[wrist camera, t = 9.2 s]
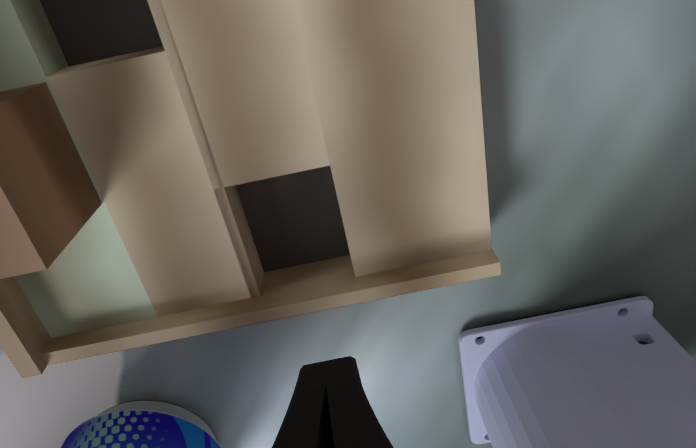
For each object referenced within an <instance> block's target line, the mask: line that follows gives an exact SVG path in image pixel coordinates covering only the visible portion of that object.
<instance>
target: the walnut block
mask: <svg viewBox="0 0 696 448" xmlns="http://www.w3.org/2000/svg"><path fill="white" fill-rule="evenodd" d="M101 204H102V202H101V200H100V198H99V196H98V193H97V191H96V189H95V187H94V185H93V183H92V180H91V178H90V176H89V174H88V172H87V170H86V168H85V165H84V163H83V161H82V159H81V157H80V155H79V153H78V150H77V148H76V146H75V144H74V142H73V140H72V137H71V135H70V133H69V131H68V129H67V127H66V125H65V122H64V120H63V118H62V116H61V114H60V112H59V109H58V107H57V105H56V103H55V101H54V99H53V97H52V94H51V92H50V90H49V88H48V86H47V84H46V82H43V83H39V84H34V85H29V86H25V87H20V88H15V89H10V90H6V91H1V92H0V279H3V278H8V277H13V276H18V275H23V274H28V273H33V272H38V271H42V270H47V269H48V268H49V266H50V265H51V264H52V263H53V262H54V261H55V259H56V258H57V257H58V256H59V255H60V253H61V252H62V251H63V250H64V249H65V247H66V246H67V245H68V244H69V243H70V241H71V240H72V239H73V238H74V237H75V235H76V234H77V233H78V232H79V231H80V230H81V228H82V227H83V226H84V225H85V224H86V222H87V221H88V220H89V219H90V218H91V216H92V215H93V214H94V213H95V212H96V210H97V209H98V208H99V207H100V206H101Z"/></svg>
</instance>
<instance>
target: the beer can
mask: <svg viewBox="0 0 696 448" xmlns="http://www.w3.org/2000/svg"><path fill="white" fill-rule="evenodd" d="M61 448H222V447H221V446H220V444H219V443H218V442H217V440H216V438H215V436H214V434H213V432H212V431H211V429H210V428H209V426H208V425H207V424H206V423H205V422H204V421H203V420H202V419H200V418H199V417H198V416H196V415H195V414H193V413H192V412H190V411H188V410H186V409H184V408H181V407H179V406H176V405H172V404H169V403H164V402H158V401H133V402H127V403H123V404H119V405H116V406H114V407H111V408H109V409H107V410H105V411H103V412H102V413H101V414H99V415H98V416H96V417H93V418H91V419H89V420H87V421H85V422H84V423H82V424H81V425H79V426H78V427H77V428H75V429H74V430H73V431H72V432H71V433H70V434H69V435H68V437H67V438H66V439H65V441H64V443H63V445H62V446H61Z"/></svg>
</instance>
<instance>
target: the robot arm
mask: <svg viewBox="0 0 696 448" xmlns="http://www.w3.org/2000/svg"><path fill="white" fill-rule="evenodd" d="M622 308H623V309H622ZM620 309H622V310H621V311H619V310H620ZM618 311H619V312H618ZM652 314H653V302H652V301H651V300H650V299H649V298H648V297H646V296H638V297H632V298H627V299H622V300H617V301H612V302H607V303H602V304H597V305H592V306H587V307H582V308H577V309H571V310H566V311H561V312H556V313H551V314H546V315H541V316H536V317H531V318H526V319H521V320H516V321H510V322H505V323H500V324H495V325H490V326H485V327H480V328H475V329H470V330H466V331H463V332H462V333H461V334H460V335H459V337H458V344H459V352H460V360H461V369H462V377H463V385H464V394H465V402H466V410H467V419H468V427H469V435H470V438H471V441H472V442H473V443H475V444H484V443H489V442H491V445H492V448H696V361H695V360H694V359H693V358H692V357H691V356H690V355H689V354H688V353H687V352H686V351H685V350H684V348H683V347H682V346H681V345H680V344H679V343H678V342H677V341H676V340H675V339H674V338H673V337H672V336H671V335H670V334H669V333H668V332H667V331H666V330H665V329H664V328H663V327H662V325H661V324H660V323H659V322H658V321H657V320H656V319H655V318H654V317H653V316H652ZM479 336H482V337H481V338H480V339H476V338H477V337H479ZM272 448H393V446H392V444H391V443H390V441H389V439H388V438H387V436H386V434H385V433H384V431H383V429H382V427H381V425H380V424H379V422H378V420H377V418H376V416H375V414H374V412H373V410H372V408H371V406H370V404H369V402H368V399H367V397H366V395H365V392H364V390H363V387H362V384H361V380H360V376H359V372H358V368H357V364H356V360H355V358H353V357H351V356H349V357H344V358H338V359H333V360H328V361H323V362H318V363H313V364H308V365H303V367H302V368H301V369H300V373H299V376H298V380H297V383H296V387H295V390H294V393H293V396H292V399H291V401H290V404H289V407H288V410H287V413H286V415H285V418H284V420H283V423H282V425H281V428H280V430H279V433H278V435H277V437H276V440H275V442H274V444H273V446H272Z"/></svg>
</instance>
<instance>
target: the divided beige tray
mask: <svg viewBox="0 0 696 448" xmlns="http://www.w3.org/2000/svg"><path fill="white" fill-rule="evenodd" d="M43 82H46V84H47V86H48V88H49V90H50V92H51V94H52V97H53V99H54V101H55V103H56V105H57V107H58V109H59V112H60V114H61V116H62V118H63V120H64V122H65V125H66V127H67V129H68V131H69V133H70V135H71V137H72V140H73V142H74V144H75V146H76V148H77V150H78V153H79V155H80V157H81V159H82V161H83V163H84V165H85V168H86V170H87V172H88V174H89V176H90V178H91V180H92V183H93V185H94V187H95V189H96V191H97V193H98V196H99V198H100V200H101V202H102V204H101V206H100V207H99V208H98V209H97V210H96V212H95V213H94V214H93V215H92V216H91V218H90V219H89V220H88V221H87V222H86V224H85V225H84V226H83V227H82V228H81V230H80V231H79V232H78V233H77V234H76V235H75V237H74V238H73V239H72V240H71V241H70V243H69V244H68V245H67V246H66V247H65V249H64V250H63V251H62V252H61V253H60V255H59V256H58V257H57V258H56V259H55V261H54V262H53V263H52V264H51V265H50V266H49V268H48V269H47V270H42V271H38V272H33V273H28V274H23V275H18V276H13V277H8V278H3V279H0V346H1V347H2V349H3V350H4V352H5V353H6V355H7V356H8V358H9V359H10V361H11V362H12V363H13V365H14V367H15V368H16V370H17V371H18V372H19V374H20V375H21V377H22V378H25V377H30V376H35V375H40V374H42V373H43V371H44V370H45V368H46V366H47V365H51V364H57V363H62V362H67V361H72V360H77V359H81V358H87V357H92V356H97V355H101V354H107V353H111V352H116V351H122V350H127V349H132V348H137V347H142V346H147V345H152V344H157V343H162V342H167V341H172V340H177V339H182V338H187V337H192V336H197V335H202V334H207V333H212V332H217V331H222V330H227V329H232V328H237V327H242V326H247V325H252V324H257V323H262V322H267V321H272V320H277V319H282V318H287V317H292V316H297V315H302V314H307V313H312V312H317V311H322V310H327V309H332V308H337V307H342V306H347V305H352V304H357V303H362V302H367V301H372V300H377V299H382V298H387V297H392V296H397V295H402V294H407V293H412V292H417V291H422V290H427V289H432V288H437V287H443V286H448V285H453V284H458V283H463V282H468V281H473V280H478V279H483V278H488V277H493V276H498V275H501V270H500V261H499V260H498V258H497V257H496V255H495V253H494V252H493V250H492V243H491V229H490V215H489V201H488V187H487V173H486V159H485V145H484V131H483V117H482V103H481V89H480V75H479V61H478V47H477V33H476V19H475V4H474V0H0V92H1V91H6V90H10V89H15V88H20V87H25V86H29V85H34V84H39V83H43Z"/></svg>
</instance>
